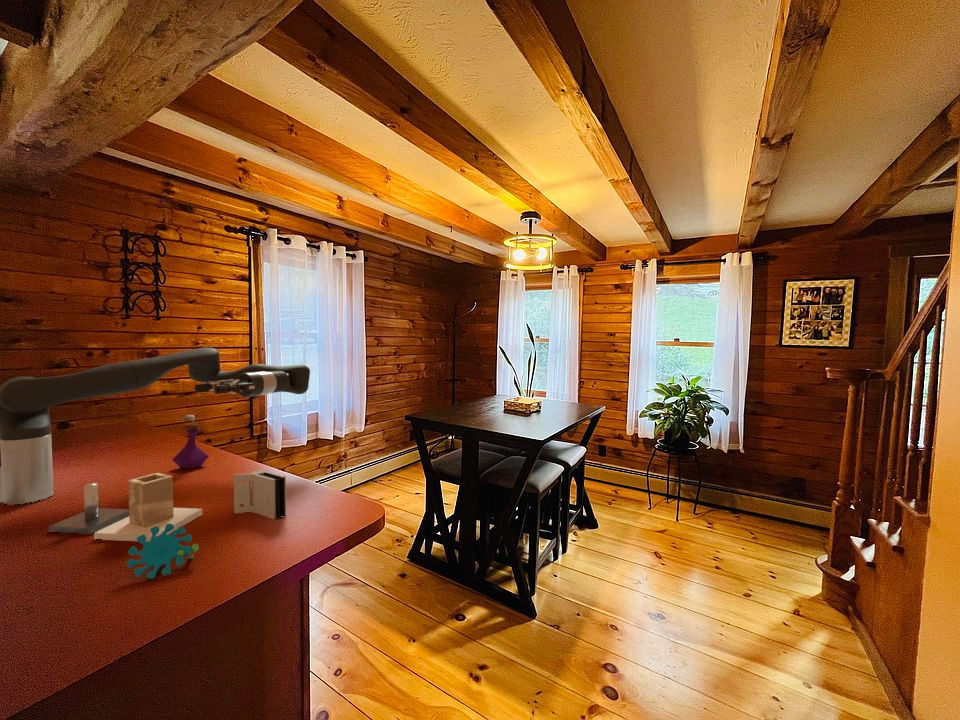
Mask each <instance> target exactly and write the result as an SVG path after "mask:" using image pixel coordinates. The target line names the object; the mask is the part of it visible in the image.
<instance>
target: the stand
mask: <svg viewBox="0 0 960 720" xmlns="http://www.w3.org/2000/svg"><path fill="white" fill-rule="evenodd" d="M98 485H99V483H98V482H89V483H86V484H84V485H83V503H84V511H81V512H79V513H77V514H75V515H73V516H71V517H67V518H66V519H63V520H61V521H58V522H56V523H53V524H51V525H48V533H49V532H60V533H59V534H68V533H79V534H78V535H90V534H91V535H92V533H93V534H94V532H96V531H99V530H101V529H103V528H105V527H107V526H110V525H112V524H114V523H116V522H118V521H120V520H122V519H124V518H127V517H129V508H128V509H124V508H103V507H102V508H101V507H99V486H98ZM61 532H62V533H61Z"/></svg>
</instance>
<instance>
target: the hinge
mask: <svg viewBox="0 0 960 720" xmlns="http://www.w3.org/2000/svg"><path fill="white" fill-rule="evenodd" d="M286 476H287V475H283V474H280V473H276V472H273V471H272V472H271V471H268V470H266V471H264V470H261V469H259V470H258V469H257V470H253V471H251V472H250V473H234V474H233V504H234V505H233V506H234V507H233V508H234V509H233V513H234V514H245V513H244V512H252V513H254V512H255V513H254V514H256V513H258V514H257V515H259V514H261V515H260V516H262V515H264V516H267V517H270V518H272V519H271V520H273V519H274V518H280V519H281V517H280V516H285V517H286V515H287V480H286V479H287V477H286ZM241 481H242V482H241ZM241 505H242V506H241ZM285 514H286V515H285ZM264 516H263V517H264ZM267 517H266V518H267ZM270 518H269V519H270ZM274 520H275V519H274Z"/></svg>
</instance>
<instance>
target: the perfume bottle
mask: <svg viewBox="0 0 960 720" xmlns="http://www.w3.org/2000/svg"><path fill="white" fill-rule="evenodd" d="M195 418H196V417H195V415H194V414H187V415H184V416H183V420H184V421H185V422H186V421H187V420H190V421H191V422H192V424H191V423H190V424H188V425H187V427H188V428H187V429H186V430H185V433H188V439H187V441H186V443H185V445H184V447H182V449H181V450H180V451H179V452H178V453H177V454H176V455H175V456H174V457H173V458H172V459H171V460H172V462H174V463H175V465H177V466H178V467H179V468H180V469H183V470H193V469H196V468H197V469H198V468H200V467H202V466H203V465H204V463H205V462H206V461H207V459H208V458H210V457H209V456H210V455H209V454H207V453H206V452H205V451H203V450H202V449H201V448H200V447H198V445H197V444H196V436H197V434H199V432H201V431H202V429H201V428H199V427H200V425H199V423H195V422H194V421H195Z"/></svg>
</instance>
